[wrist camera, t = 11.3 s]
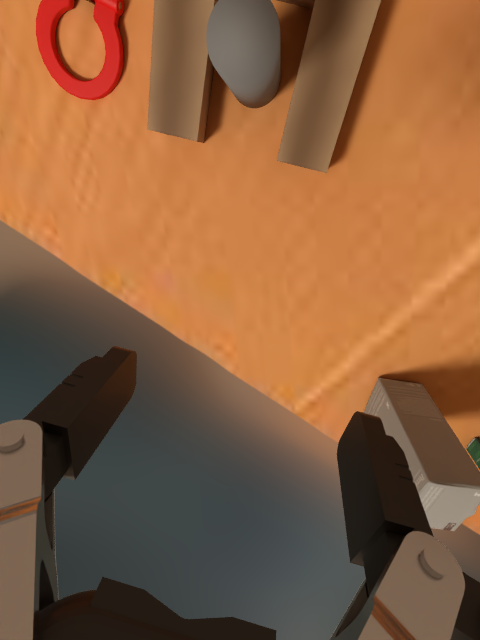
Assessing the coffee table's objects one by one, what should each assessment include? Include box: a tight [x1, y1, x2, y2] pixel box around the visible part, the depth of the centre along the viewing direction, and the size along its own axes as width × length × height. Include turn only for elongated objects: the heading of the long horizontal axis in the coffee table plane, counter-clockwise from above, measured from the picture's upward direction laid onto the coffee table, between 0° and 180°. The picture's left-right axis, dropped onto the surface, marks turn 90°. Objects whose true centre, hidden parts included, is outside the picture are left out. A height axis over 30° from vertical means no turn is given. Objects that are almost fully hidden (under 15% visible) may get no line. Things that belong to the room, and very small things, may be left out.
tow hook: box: [36, 0, 124, 100], centre depth 24 cm, size 8×13×9 cm
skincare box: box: [364, 378, 480, 531], centre depth 38 cm, size 8×7×16 cm
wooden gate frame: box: [147, 0, 381, 173], centre depth 25 cm, size 18×14×10 cm
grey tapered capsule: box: [206, 0, 280, 108], centre depth 25 cm, size 5×5×11 cm
